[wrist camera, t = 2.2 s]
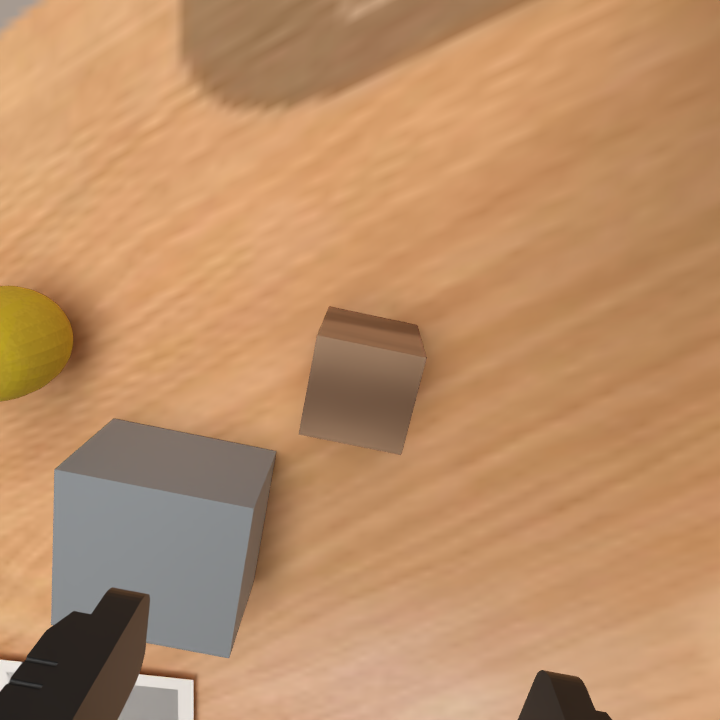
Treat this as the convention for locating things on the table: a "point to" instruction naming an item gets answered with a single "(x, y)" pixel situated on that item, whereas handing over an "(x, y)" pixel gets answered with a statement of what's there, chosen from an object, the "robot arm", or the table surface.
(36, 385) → the lemon
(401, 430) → the walnut block
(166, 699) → the touchpad
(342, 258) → the table surface
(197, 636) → the base block
